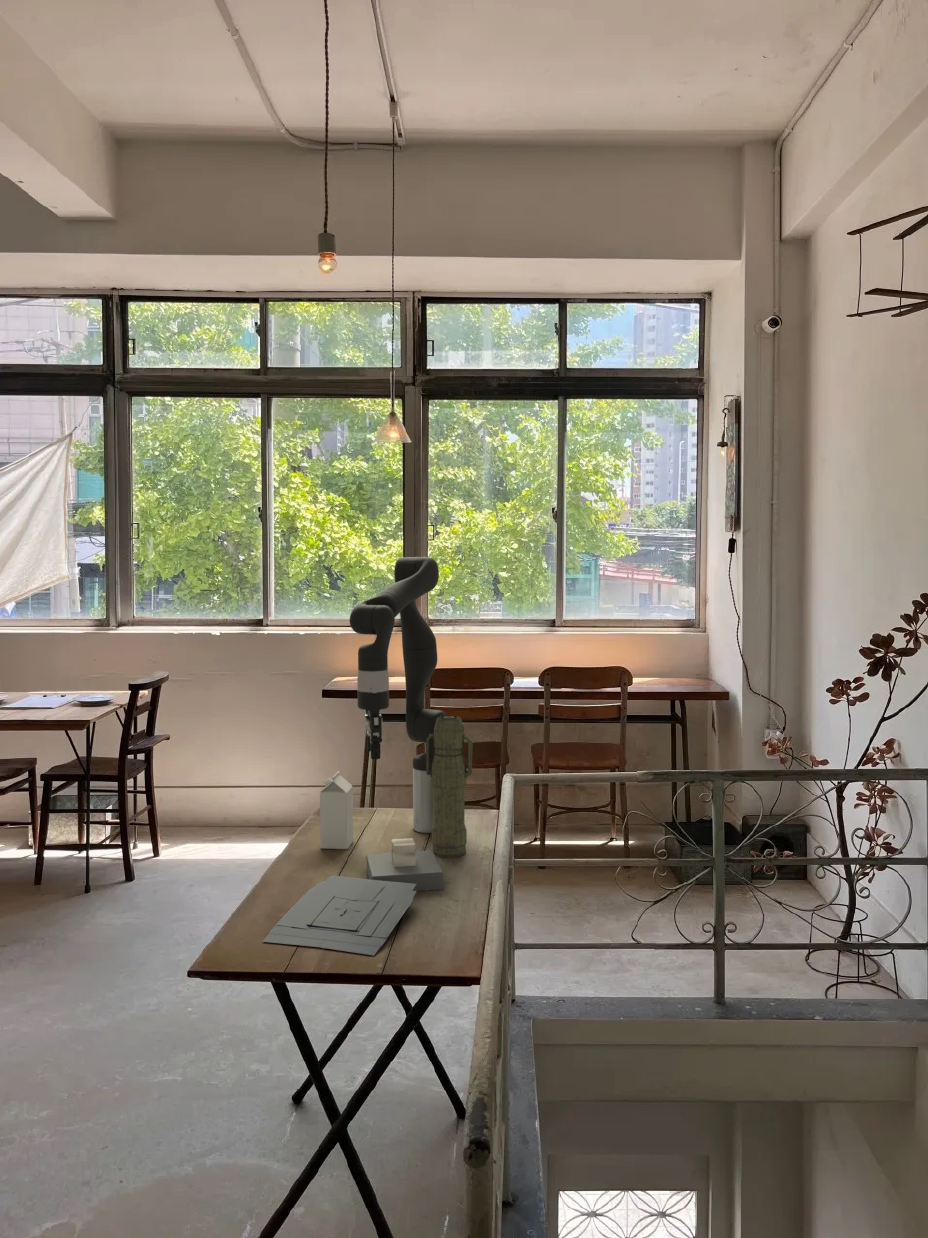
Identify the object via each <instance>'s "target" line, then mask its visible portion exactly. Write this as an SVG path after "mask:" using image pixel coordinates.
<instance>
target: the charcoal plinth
mask: <svg viewBox="0 0 928 1238" xmlns="http://www.w3.org/2000/svg"><path fill="white" fill-rule="evenodd" d="M366 873H367V877H368V879H370V880H380V881H391V882H401V883H412V884H416V886H415V887H414V889H413V890H412V891H417V892H421V891H432V890H435V891H436V890H443V889H444V887H443V885H444V884H443V881H444V880H443V877H444V876H443V870H442V868H441V865H440V864H439V862H438V860H437V858H436V855H434V853H433V849H432V850H415V866H401V867H394V865H393V862H392V852H383V853H382V852H381V853H380V852H379V853H367V854H366Z"/></svg>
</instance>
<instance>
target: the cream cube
mask: <svg viewBox="0 0 928 1238" xmlns="http://www.w3.org/2000/svg"><path fill="white" fill-rule="evenodd" d="M415 851H416V842H415V841H414V838H413V837H412V838H411V837H410V838H407V837H406V838H393V839H391V853H392V862H393V865H394V867H401V866H415Z"/></svg>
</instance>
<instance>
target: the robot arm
mask: <svg viewBox="0 0 928 1238" xmlns="http://www.w3.org/2000/svg"><path fill="white" fill-rule="evenodd" d="M439 573H440V572H439V566H438V564H437V562H436V560H435V559H434V558H432V557H429V556H413V557H412V556H408V557H407V556H404V557H400V558H398V559H397V560H396V562H395V565H394V572H393V575H394V583H391V584H389V585H387V586H386V587H384V588H383V589H382V590H381V591H379V593H377V595H376V596H374V597H371V598H368V599H365V600H364V601H362V602H360V603H358V604H356V606H354V608H353V609H352V611H351V612H350V615H349V625H350V627H351V630H353V632H355V633H356V634H359V635H369V636H370V635H371V636H372V635H374V636H375V635H376V637H375V640H374V642H372V643H367V644H363V645H361V646H359V648H358V652H357V664H358V665H357V669H358V670H357V671H358V672H357V679H356V682H357V683H356V684H357V687H356V688H357V689H356V690H357V693H356V694H357V708H358V709H360V710H363V711H364V710H365V715H364V722H365V723H364V725H365V726H364V727H365V733H366V736H367V751H368V752H370V759H371V760H380V759H381V743H382V742H383V737H382V736H383V722H384V721H383V716H382V714H380V711H381V710H385V709H388V708H389V707H390V677H389V671H388V670H389V669H388V667H389V665H388V661H389V660H388V659H389V658H388V651H389V646H390V641H391V637H392V636H393V635H392V634H393V631H394V628H395V627H394V626H395V622H396V617H397V616H398V615H399V617H400V625H401V626H400V627H401V628H400V629H401V630H400V631H401V645H402V656H403V659H402V660H403V665H404V666H403V667H404V678H405V728H406V733H407V737H409V739H410V740H411V741H413V742H417V743H425V744H426V739H427V738H428V736H429V735H430V734H433V733H434V727H435V723H436V720H437V718H438V717H440V716H443V715H448V714H447V713H446V712H445V711H443V710H440V709H432V708H431V709H430V708H426V707H425V691H426V688H427V685H428V683H429V682H430V680H431V678H432V676H433V674H434V673H435V670H436V668H437V666H438V665H437V664H438V649H437V647H438V646H437V638H436V636H435V634H434V632H433V630H432V628H431V627H430V626H429V624H428V623H427V622H426V620H425V619H424V617H423V616H422V615H421V614H422V613H420V611H419V608H418V607H417V604H416V602H415V601H416V600H417V599H419V598H420V597H422V596H424V595H426V594H427V593H429V592H431V591H432V590H434V589H435V588H436V587H437V584H438V582H439V576H440V574H439ZM434 752H435V748H434V739H432V738H430V739H429V771H431V770H432V762H433V759H434ZM412 806H413V807H412V819H413V820H412V829H413V830H414V831H415V832H417V833H422V834H432V829H433V826H434V788H433V786H432V777H430V775H427V773H426V752H424V753H420V754H417V755H415V756H414V757H413V758H412Z"/></svg>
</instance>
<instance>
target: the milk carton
mask: <svg viewBox="0 0 928 1238" xmlns="http://www.w3.org/2000/svg"><path fill="white" fill-rule="evenodd" d="M340 772H341V771H340V770H338V771H337V772H336V773H335V774H334V775H333V776H332V778H331V777H328V778H327V779H326V780H324V782H323V784H324V785H325V786H324V787H323V789H322V790H320V792H319V816H320V817H319V818H320V819H319V823H320V824H319V825H320V826H319V827H320V832H319V833H320V836H319V837H320V838H319V839H320V849H323V850H324V849H325V850H326V849H327V850H328V849H329V850H331V849H332V850H348V849H349V848H350V846H351V845H352V844H353V842H354V811H353V810H354V807H353V804H354V803H353V802H354V801H353V800H354V799H353V794H354V793H353V785H352V784H351V783H350V782H348V780H346V779H345V778H344V777H343V776H342V775H340V774H341V773H340Z"/></svg>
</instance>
